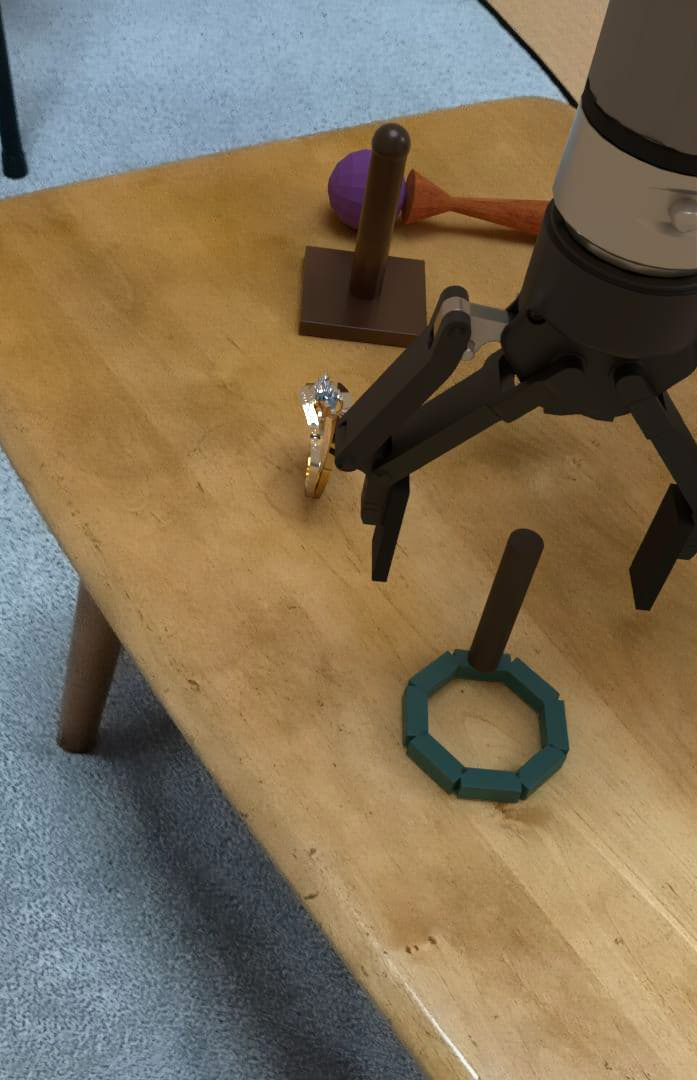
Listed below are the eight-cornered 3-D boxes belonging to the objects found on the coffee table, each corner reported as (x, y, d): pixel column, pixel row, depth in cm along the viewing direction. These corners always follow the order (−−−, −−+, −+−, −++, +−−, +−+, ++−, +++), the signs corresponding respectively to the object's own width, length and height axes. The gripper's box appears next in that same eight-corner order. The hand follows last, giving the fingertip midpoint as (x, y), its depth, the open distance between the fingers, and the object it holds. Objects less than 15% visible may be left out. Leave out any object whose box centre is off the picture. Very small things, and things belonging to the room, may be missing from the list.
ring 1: (291, 441, 80) (305, 345, 74) (340, 448, 80) (358, 353, 74) (280, 520, 75) (293, 424, 69) (332, 528, 75) (350, 433, 70)
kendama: (594, 224, 94) (337, 183, 90) (565, 277, 99) (321, 240, 95) (585, 168, 97) (336, 126, 93) (558, 222, 102) (321, 185, 98)
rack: (422, 273, 94) (460, 99, 83) (424, 349, 88) (465, 173, 77) (304, 258, 93) (327, 81, 83) (298, 334, 87) (322, 154, 77)
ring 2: (569, 808, 65) (634, 686, 56) (402, 793, 64) (444, 667, 56) (553, 666, 71) (610, 537, 62) (401, 651, 70) (438, 518, 62)
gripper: (318, 236, 44) (262, 607, 60) (980, 326, 46) (758, 659, 62) (324, 126, 49) (271, 495, 65) (921, 212, 51) (730, 547, 67)
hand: (510, 576), depth 63 cm, fingers open, 13 cm apart
